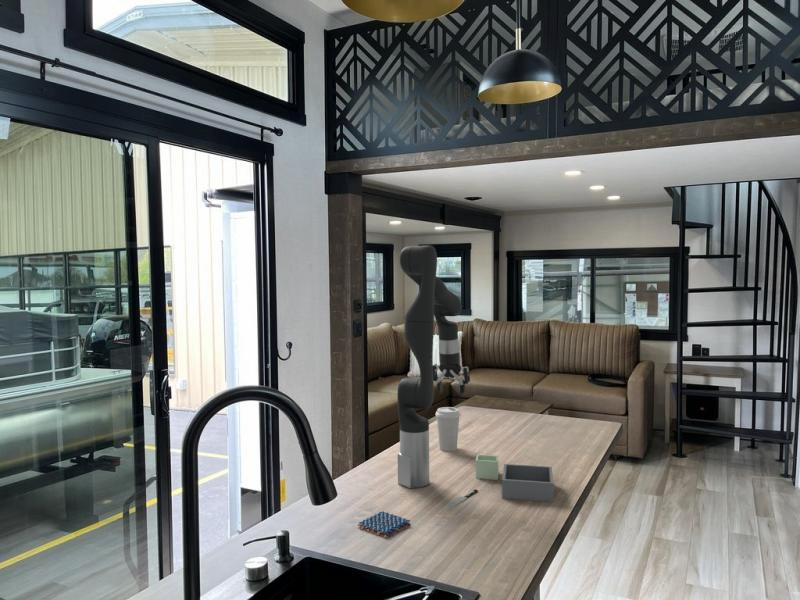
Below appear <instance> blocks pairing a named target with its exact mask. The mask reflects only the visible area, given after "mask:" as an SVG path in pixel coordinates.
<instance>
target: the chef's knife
mask: <svg viewBox="0 0 800 600" xmlns="http://www.w3.org/2000/svg"><path fill="white" fill-rule="evenodd" d="M476 493H478V489H473V490H472V491H471V492H469V493H468V494H466V495H465V496H458V497H456V498H454V499H453V500H452V501H451V502H449V503H448V504H447V505H446V507H447V508H445V511H446V512H448V511H450V510H451V509H453V508H454V506H455V507H456V506H458V505H459V504H461V503H463V502H464V501H466V500H467V499H468V498H470V497H472V496H473V495H475V494H476ZM462 501H463V502H462Z"/></svg>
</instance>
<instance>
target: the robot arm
mask: <svg viewBox="0 0 800 600" xmlns="http://www.w3.org/2000/svg"><path fill="white" fill-rule="evenodd" d="M399 264H400V268H401V270H402V271H403V273H404V274H405V275H406V276H407V277H408V278H410V279H411V280H412V281H413V282H414V283H415V284H416V285H418V287H420V288H419V290H418V293H417V295H416V296H415V298H414V300H413V301H412V302H411V304H410V306H409V307H408V309H407V311H406V313H405V316H404V338H405V342H406V343H407V346H408V347H409V350H410V351H411V353H412V354H413V355H414V357H415V360H416V362H417V366H418V369H419V374H420V375H419V376H420V378H414V377H412V378H411V377H404V378H402V379H400V381H399V383H398V386H397V395H396V396H397V409H398V410H397V411H398V423H399V453H397V484H399V485H402V486H404V487H406V488H408V489H413V488H414V489H415V488H424V487H426V486H429V484H430V423H429V419H427V418H426V417H424V416H423V415H420V414H419V413H418V412H416V411H415V409H418V410H419V409H420V410H428V409H430V408H431V407H432V406H433V403H434V395H435V386H434V382H435V383H436V387H437V389H436V390H437V391H438V393H440V394H441V393H442V392H443V391H444V389H443V381H442V380H443V379H444V378H446V379H447V378H448V379H449V378H450V379H455V380H456V381H457V382H458V383H459V394H460V395H461V396H463V395H464V394H465V393H466V385H468V384H469V382H471V379H470V378H471V377H470V375H471V374H470V367H469V366H468V365H466V366H461V355H460V353H461V352H460V350H461V349H460V342H459V341H460V340H459V331H458V330H459V329H458V327H459V326H458V324H457V323H456V322H454V321H450V320H448V319H447V318H446V317H457V316H459V315H460V314H461V312H462V310H463V309H462V308H463V305H462V302H461V300H460V298H459V297H458V296H457V295H456V293H453V292H452V291H450V290H449V289H448V287H447V286H446V284H445V282H444V281H443V280H442V279H441V278H440V277H438V276H437V267H438V255H437V250H436V248H435V247H434V246H433V245H409V246H405V247H404V248H402V249H401V252H400V255H399ZM435 321H436V326H437V330H438V356H439V357H438V359H439V365H438V364H437V363H433V362H434V361H433V358H434V356H433V355H434V354H433V351H434V334H435V333H434V332H435V331H434V330H435V329H434V328H435V323H434V322H435ZM438 371H440V374H439V376H438ZM461 373H463V374H461Z"/></svg>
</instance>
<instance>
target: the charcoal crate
mask: <svg viewBox="0 0 800 600" xmlns="http://www.w3.org/2000/svg"><path fill="white" fill-rule="evenodd" d="M502 471H503V472H502V480H501V483H502V484H501V487H502V488H501V489H502V490H501V491H502V492H501V494H502V496H501V498H502V499H507V500H520V501H534V502H544V503H545V502H547V503H548V502H549V503H554V477H553V467H552V466H547V465H545V466H544V465H532V464H531V465H529V464H512V463H504V464H503V470H502Z"/></svg>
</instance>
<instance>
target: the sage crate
mask: <svg viewBox="0 0 800 600" xmlns="http://www.w3.org/2000/svg"><path fill="white" fill-rule="evenodd" d="M499 457H500V456H499V455H495V454H493V455H489V454H476V458H475V479H480V478H485V480H495V479H499V472H500V471H499V470H500V469H499V467H500V466H499V462H500V461H499V459H500V458H499Z"/></svg>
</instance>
